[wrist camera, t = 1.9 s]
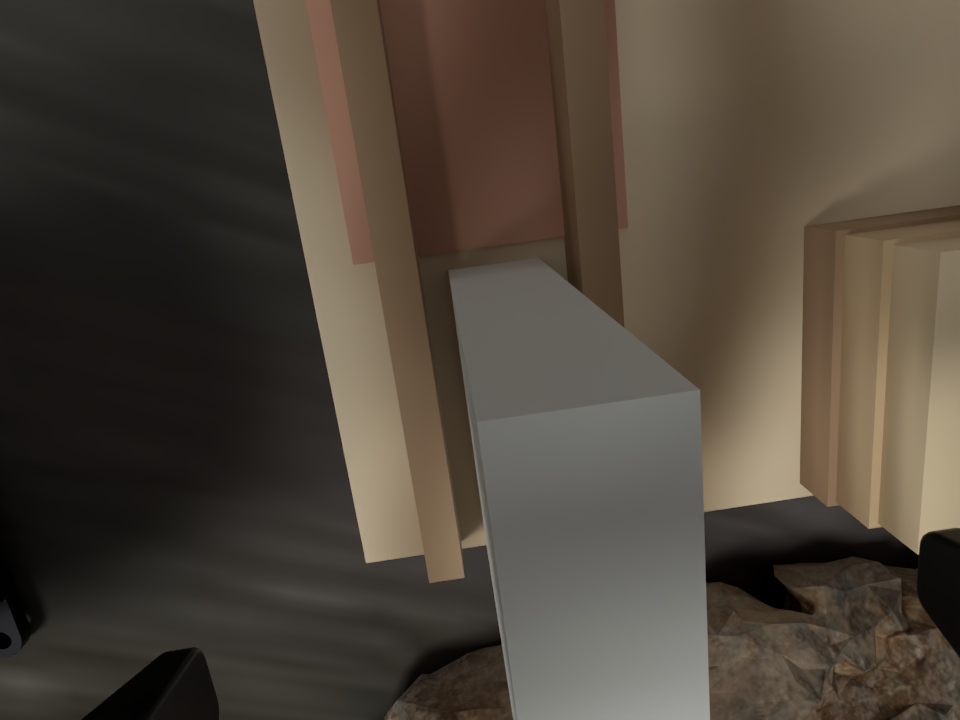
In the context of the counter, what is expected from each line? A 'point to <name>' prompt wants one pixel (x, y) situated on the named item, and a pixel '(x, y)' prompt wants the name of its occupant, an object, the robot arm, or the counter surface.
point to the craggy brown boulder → (772, 655)
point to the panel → (584, 501)
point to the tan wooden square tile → (832, 339)
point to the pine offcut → (922, 393)
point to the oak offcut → (868, 361)
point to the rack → (590, 203)
